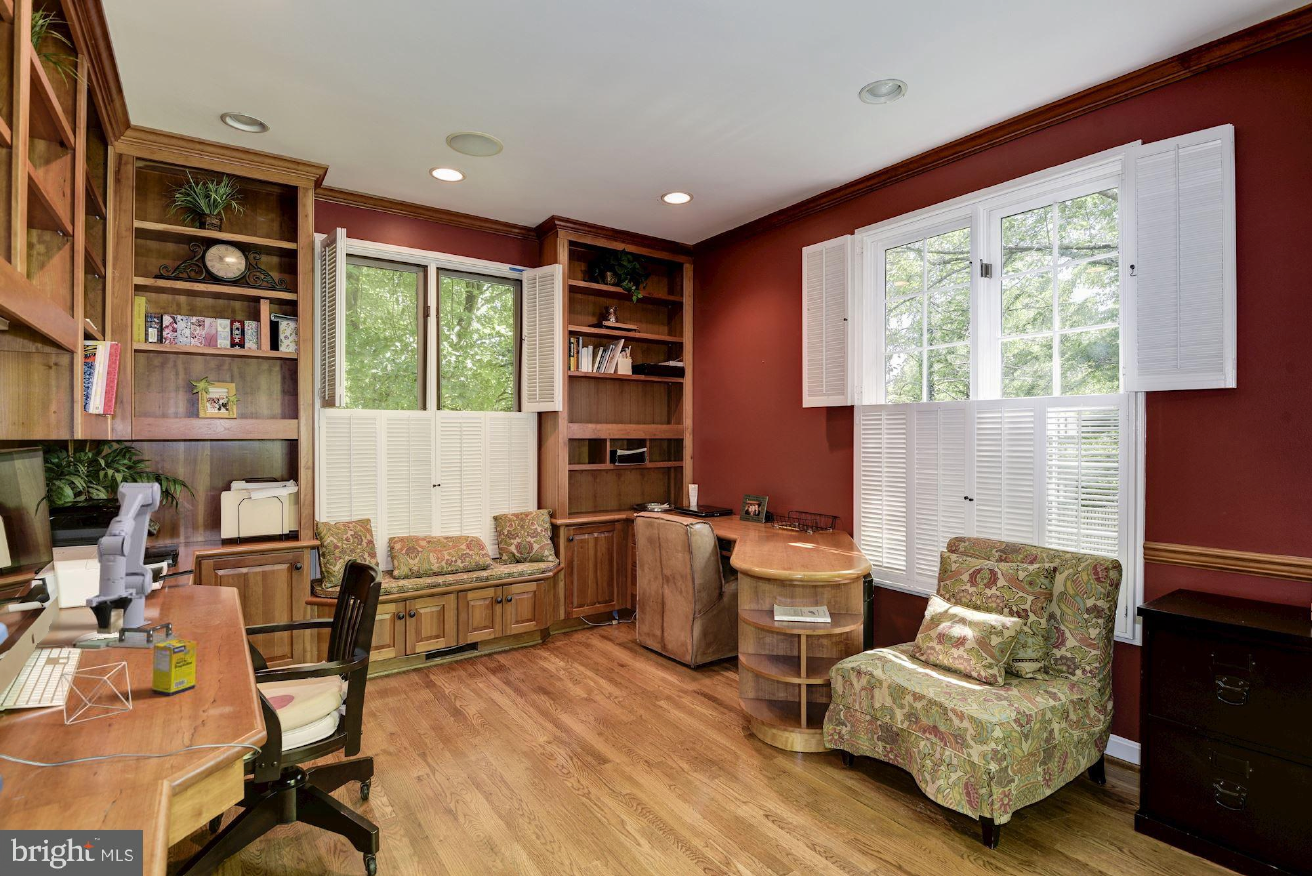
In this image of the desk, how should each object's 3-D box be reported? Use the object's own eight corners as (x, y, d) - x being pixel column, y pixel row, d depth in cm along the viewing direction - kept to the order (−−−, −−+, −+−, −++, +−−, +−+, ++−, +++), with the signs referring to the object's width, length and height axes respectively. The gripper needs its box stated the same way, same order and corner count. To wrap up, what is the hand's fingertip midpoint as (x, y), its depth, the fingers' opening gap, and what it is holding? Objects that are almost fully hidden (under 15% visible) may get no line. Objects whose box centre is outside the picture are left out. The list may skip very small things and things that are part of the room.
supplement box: (195, 688, 157) (197, 641, 157) (169, 696, 151) (171, 647, 151) (177, 684, 159) (179, 638, 159) (151, 692, 153) (153, 644, 153)
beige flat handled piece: (108, 646, 185) (109, 629, 186) (137, 636, 195) (138, 620, 196) (150, 648, 185) (151, 630, 185) (177, 638, 195) (178, 621, 195)
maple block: (110, 634, 189) (111, 612, 189) (96, 633, 189) (97, 612, 189) (122, 630, 193) (123, 609, 193) (109, 629, 193) (109, 608, 193)
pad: (75, 647, 184) (75, 643, 184) (118, 633, 198) (118, 630, 198) (100, 648, 183) (100, 644, 184) (141, 634, 197) (141, 631, 198)
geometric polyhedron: (141, 701, 148) (143, 659, 149) (121, 720, 138) (122, 675, 138) (72, 707, 144) (73, 664, 144) (45, 727, 134) (47, 681, 134)
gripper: (104, 583, 184) (102, 633, 183) (146, 574, 198) (144, 620, 198) (79, 582, 184) (77, 632, 184) (123, 573, 198) (121, 619, 198)
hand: (110, 626), depth 191 cm, fingers closed on maple block, 4 cm apart
